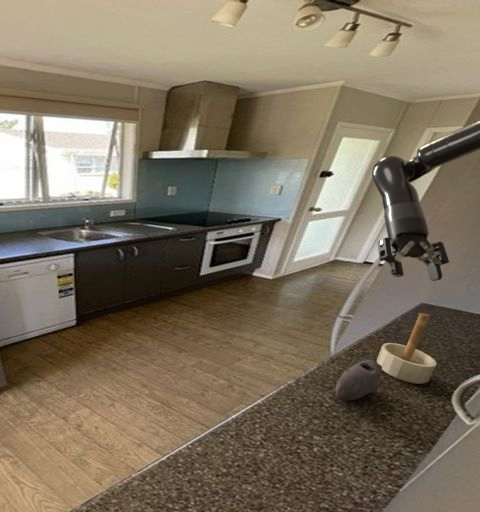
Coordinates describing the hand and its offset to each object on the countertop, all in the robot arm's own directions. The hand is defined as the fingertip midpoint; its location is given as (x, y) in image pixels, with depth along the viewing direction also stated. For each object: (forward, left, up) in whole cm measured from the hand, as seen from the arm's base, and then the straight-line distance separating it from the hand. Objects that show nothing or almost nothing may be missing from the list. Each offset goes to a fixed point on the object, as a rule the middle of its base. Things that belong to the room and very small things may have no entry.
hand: (417, 278), depth 74 cm
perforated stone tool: (+10, +24, -24) cm, 36 cm away
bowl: (-2, +7, -24) cm, 25 cm away
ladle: (0, +7, -23) cm, 24 cm away
